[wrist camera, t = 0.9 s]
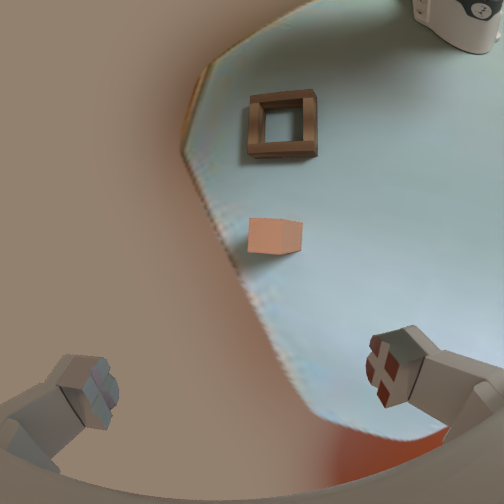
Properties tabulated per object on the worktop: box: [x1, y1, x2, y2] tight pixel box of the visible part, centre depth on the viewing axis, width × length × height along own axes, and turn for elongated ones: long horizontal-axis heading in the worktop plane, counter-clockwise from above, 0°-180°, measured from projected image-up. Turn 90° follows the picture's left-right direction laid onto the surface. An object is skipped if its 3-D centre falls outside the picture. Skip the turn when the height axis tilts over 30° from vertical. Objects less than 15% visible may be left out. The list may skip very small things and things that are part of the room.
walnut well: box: [247, 89, 318, 158], centre depth 39 cm, size 10×10×3 cm
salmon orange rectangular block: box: [248, 218, 303, 255], centre depth 37 cm, size 4×4×10 cm
